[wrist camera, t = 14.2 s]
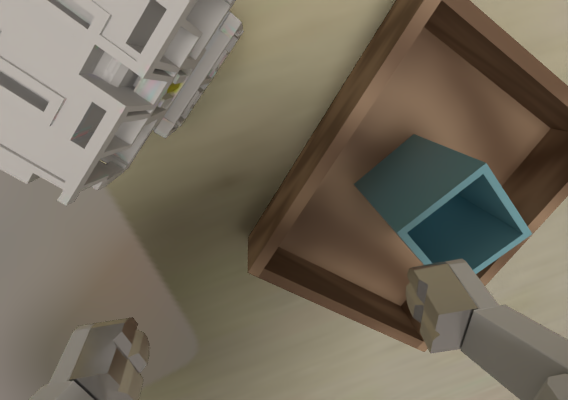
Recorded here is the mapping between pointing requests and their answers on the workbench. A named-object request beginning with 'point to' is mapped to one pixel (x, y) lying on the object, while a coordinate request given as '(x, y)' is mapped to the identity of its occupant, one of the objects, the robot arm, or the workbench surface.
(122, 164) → the circuit breaker
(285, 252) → the walnut crate
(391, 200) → the teal crate
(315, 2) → the workbench surface
